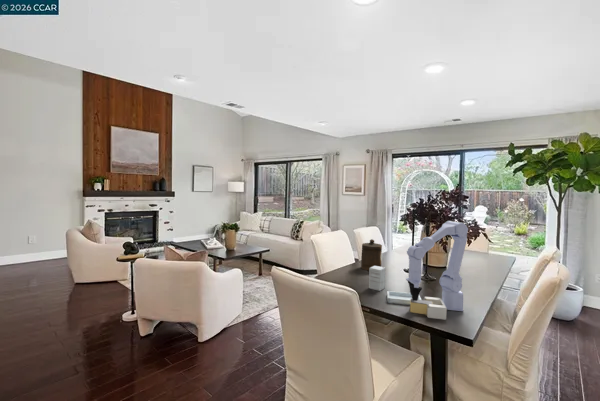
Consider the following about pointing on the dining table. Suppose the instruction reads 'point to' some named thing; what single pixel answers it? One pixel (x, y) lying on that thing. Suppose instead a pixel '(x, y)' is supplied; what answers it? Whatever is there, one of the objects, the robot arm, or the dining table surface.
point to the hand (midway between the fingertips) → (413, 297)
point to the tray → (400, 297)
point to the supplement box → (377, 278)
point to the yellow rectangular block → (419, 306)
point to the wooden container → (371, 255)
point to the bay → (436, 308)
